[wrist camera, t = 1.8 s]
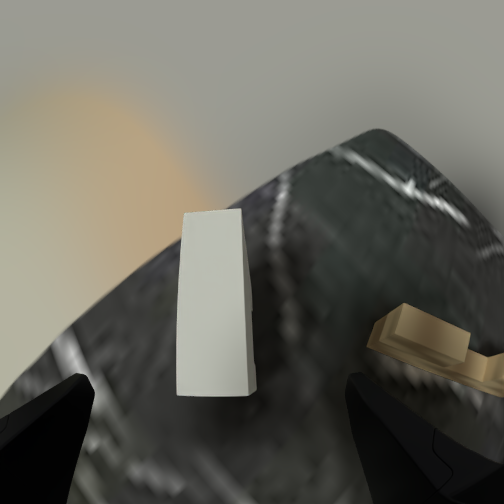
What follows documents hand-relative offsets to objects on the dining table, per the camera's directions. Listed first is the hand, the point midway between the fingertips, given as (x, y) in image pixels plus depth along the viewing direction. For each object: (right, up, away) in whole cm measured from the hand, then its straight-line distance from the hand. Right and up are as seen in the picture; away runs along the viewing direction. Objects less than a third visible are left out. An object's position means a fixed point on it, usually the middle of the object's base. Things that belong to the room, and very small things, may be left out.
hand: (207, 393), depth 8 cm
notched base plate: (+17, -5, +9) cm, 20 cm away
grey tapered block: (0, -2, +11) cm, 11 cm away
